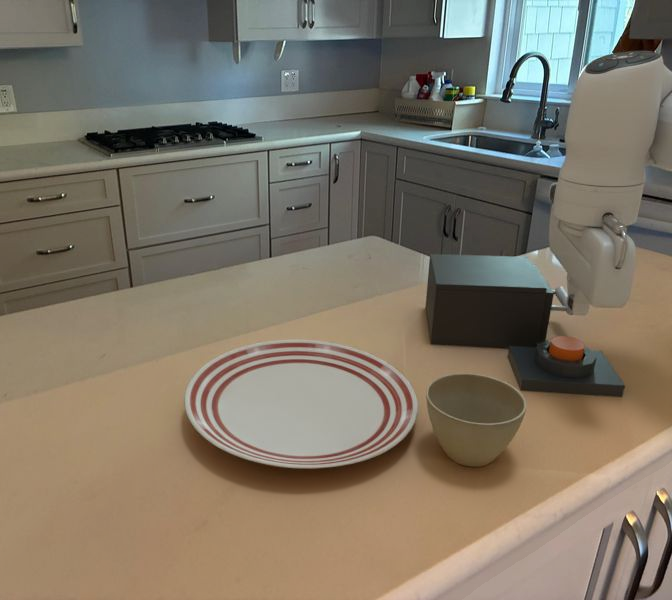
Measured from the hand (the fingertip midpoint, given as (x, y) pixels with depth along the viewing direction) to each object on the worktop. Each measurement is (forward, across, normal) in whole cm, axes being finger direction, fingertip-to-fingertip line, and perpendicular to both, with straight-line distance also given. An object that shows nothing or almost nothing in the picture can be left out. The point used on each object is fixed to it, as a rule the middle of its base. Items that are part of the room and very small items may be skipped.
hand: (576, 310), depth 77 cm
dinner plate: (+9, -13, +34) cm, 37 cm away
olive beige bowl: (+9, -18, +14) cm, 25 cm away
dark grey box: (+9, +13, +9) cm, 19 cm away
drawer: (+9, +13, +5) cm, 16 cm away
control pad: (+9, 0, 0) cm, 9 cm away
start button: (+6, 0, 0) cm, 6 cm away
